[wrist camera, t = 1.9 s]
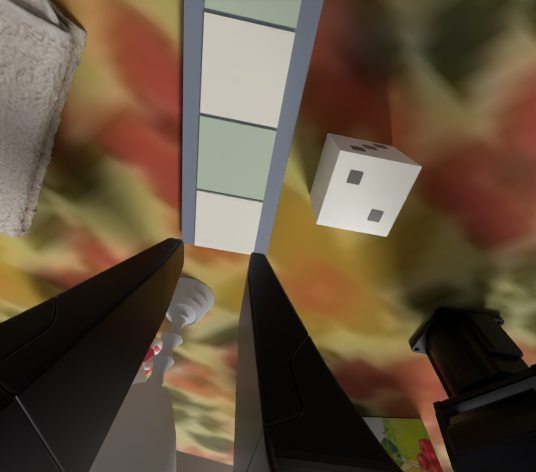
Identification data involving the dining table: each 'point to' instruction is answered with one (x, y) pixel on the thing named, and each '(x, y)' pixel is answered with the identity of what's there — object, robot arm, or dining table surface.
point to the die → (361, 185)
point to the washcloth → (31, 100)
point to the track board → (240, 114)
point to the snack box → (406, 443)
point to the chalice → (153, 398)
